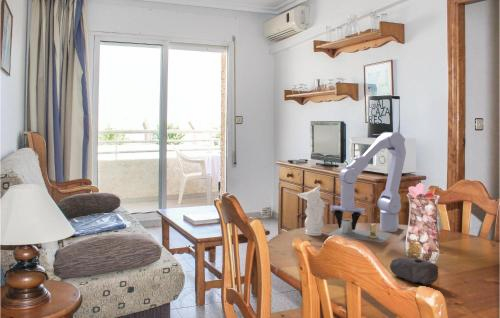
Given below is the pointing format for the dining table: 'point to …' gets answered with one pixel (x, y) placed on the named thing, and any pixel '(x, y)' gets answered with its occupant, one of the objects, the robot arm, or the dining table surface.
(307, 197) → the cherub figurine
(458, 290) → the dining table surface
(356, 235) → the post board
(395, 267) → the perforated stone tool
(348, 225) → the steel collar
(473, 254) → the dining table surface
